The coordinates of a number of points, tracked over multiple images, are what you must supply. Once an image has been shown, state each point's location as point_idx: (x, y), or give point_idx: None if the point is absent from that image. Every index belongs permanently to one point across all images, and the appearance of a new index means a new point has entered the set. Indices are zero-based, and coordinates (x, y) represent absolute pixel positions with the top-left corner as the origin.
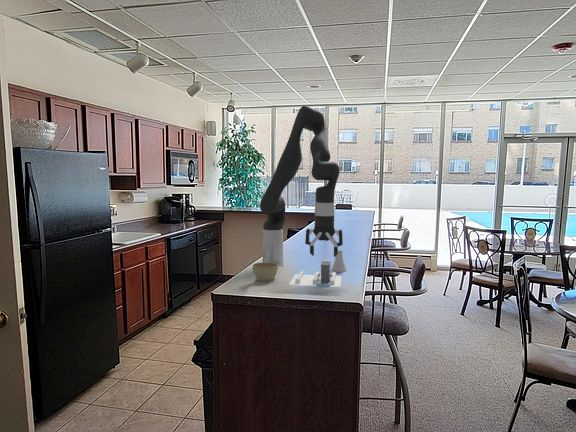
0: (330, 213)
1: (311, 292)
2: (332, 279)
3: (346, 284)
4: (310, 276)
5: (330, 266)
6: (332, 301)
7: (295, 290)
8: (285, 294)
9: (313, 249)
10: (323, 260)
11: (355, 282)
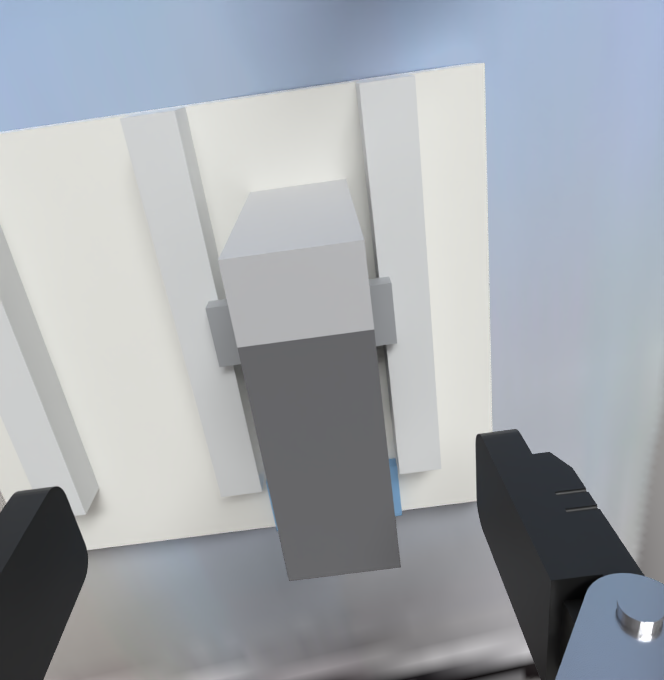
0: None
1: (262, 560)
2: (416, 437)
3: (535, 255)
4: (90, 210)
5: (355, 214)
6: (449, 672)
7: (121, 551)
8: (96, 642)
9: (40, 669)
10: (242, 307)
11: (641, 141)
